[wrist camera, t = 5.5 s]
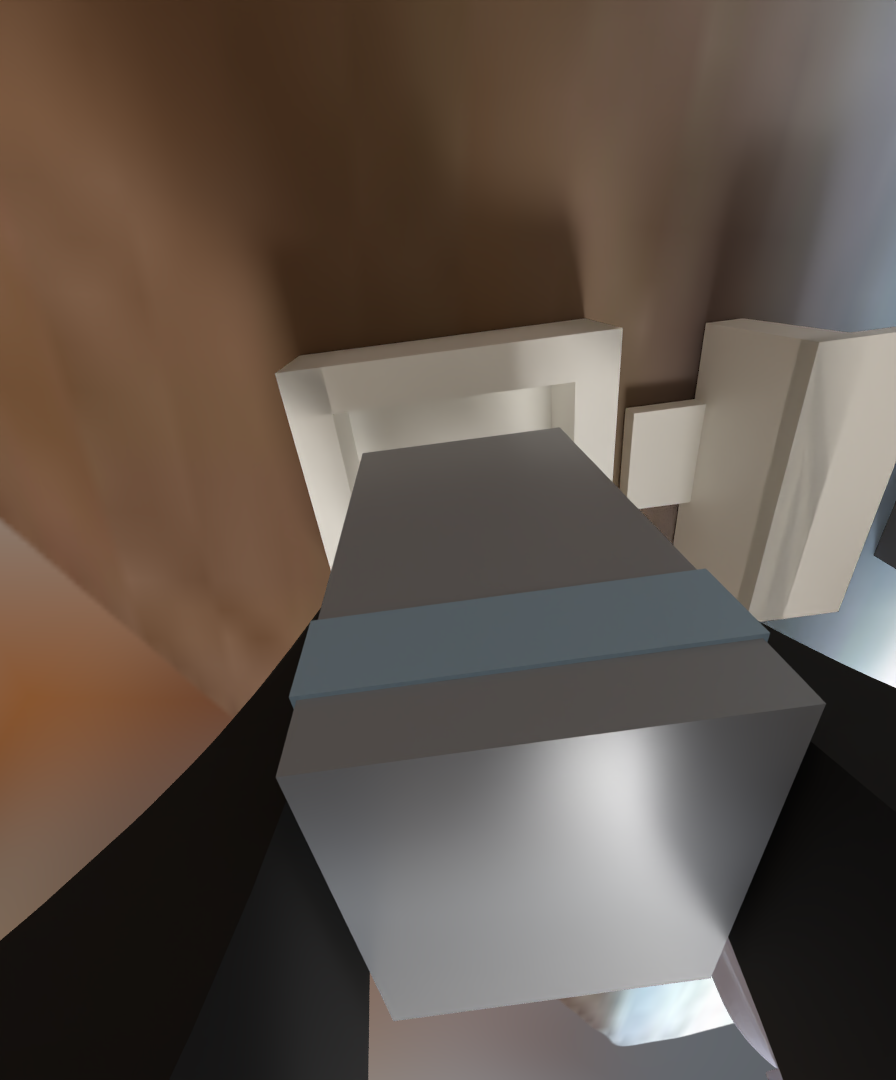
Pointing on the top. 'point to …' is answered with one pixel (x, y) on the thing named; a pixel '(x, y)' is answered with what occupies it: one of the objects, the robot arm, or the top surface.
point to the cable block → (888, 541)
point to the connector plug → (531, 733)
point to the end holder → (447, 400)
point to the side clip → (773, 460)
